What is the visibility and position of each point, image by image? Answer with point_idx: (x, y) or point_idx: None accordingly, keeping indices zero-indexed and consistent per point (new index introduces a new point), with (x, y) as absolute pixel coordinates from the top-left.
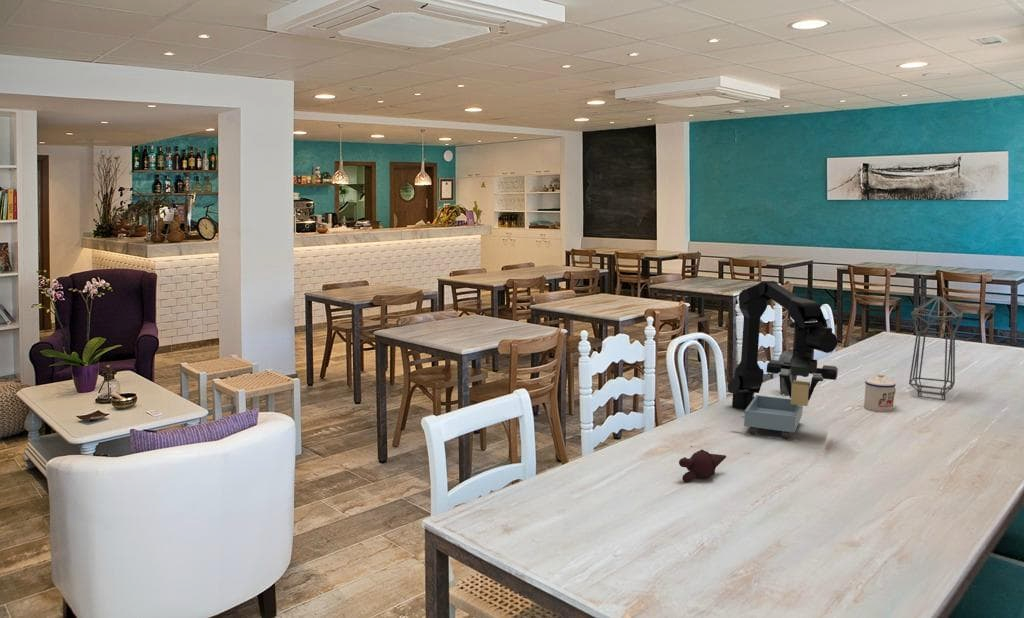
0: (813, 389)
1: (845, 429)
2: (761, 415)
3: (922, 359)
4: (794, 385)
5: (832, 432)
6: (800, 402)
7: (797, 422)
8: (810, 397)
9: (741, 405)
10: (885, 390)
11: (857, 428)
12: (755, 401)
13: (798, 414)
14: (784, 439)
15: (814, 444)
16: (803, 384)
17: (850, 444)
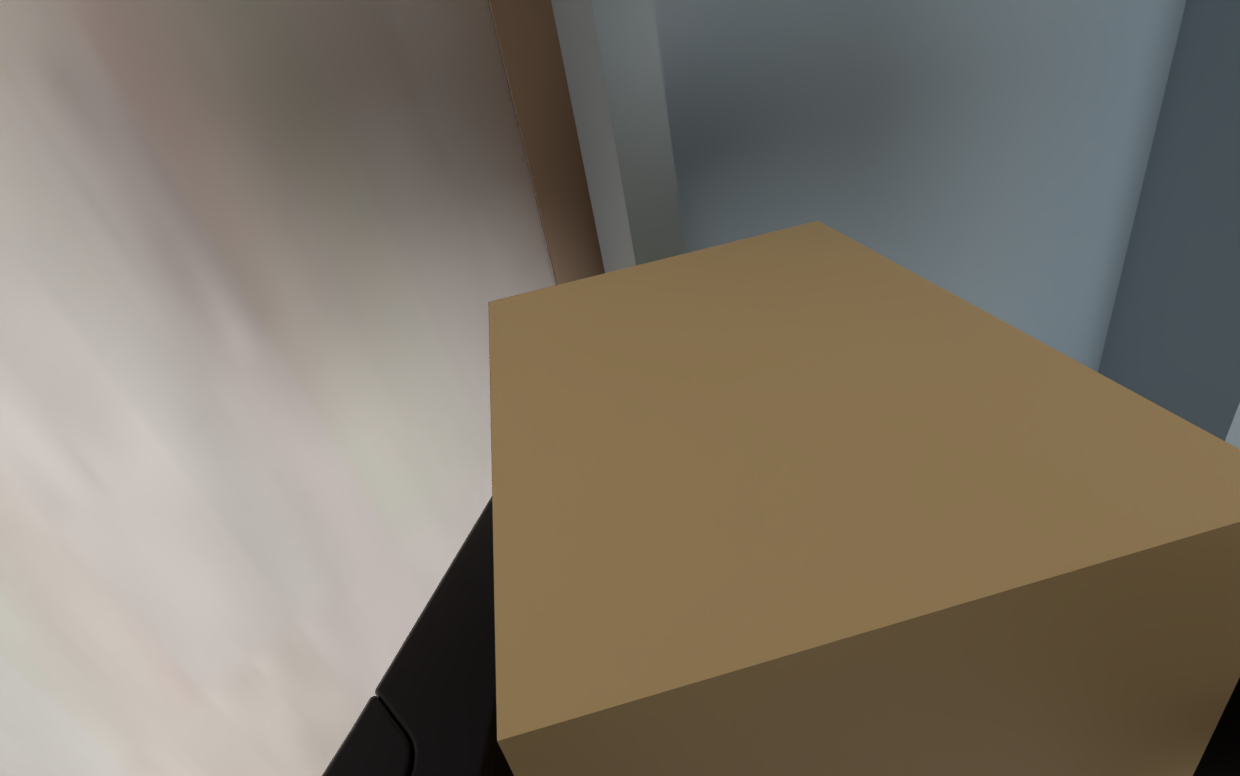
0: (369, 719)
1: (342, 657)
2: None
3: None
4: (1125, 487)
5: (380, 534)
6: (639, 289)
7: (583, 132)
8: (479, 518)
9: None
10: None
11: (289, 725)
12: (1233, 347)
13: (617, 235)
14: None
15: (308, 24)
16: (786, 724)
17: (24, 307)
